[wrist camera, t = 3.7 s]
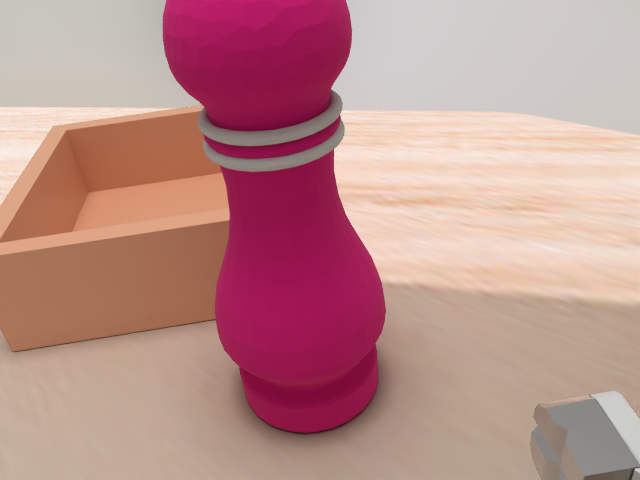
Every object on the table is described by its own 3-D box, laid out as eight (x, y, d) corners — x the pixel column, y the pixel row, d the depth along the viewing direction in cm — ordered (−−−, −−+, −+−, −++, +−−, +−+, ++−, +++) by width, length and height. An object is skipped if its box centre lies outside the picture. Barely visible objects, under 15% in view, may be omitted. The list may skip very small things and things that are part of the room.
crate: (297, 166, 47) (287, 92, 43) (327, 301, 32) (315, 207, 29) (80, 198, 46) (52, 126, 42) (12, 351, 32) (-36, 260, 28)
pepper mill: (369, 459, 24) (319, -116, 13) (208, 427, 26) (48, -89, 15) (402, 337, 29) (386, -136, 18) (268, 319, 32) (183, -114, 21)
